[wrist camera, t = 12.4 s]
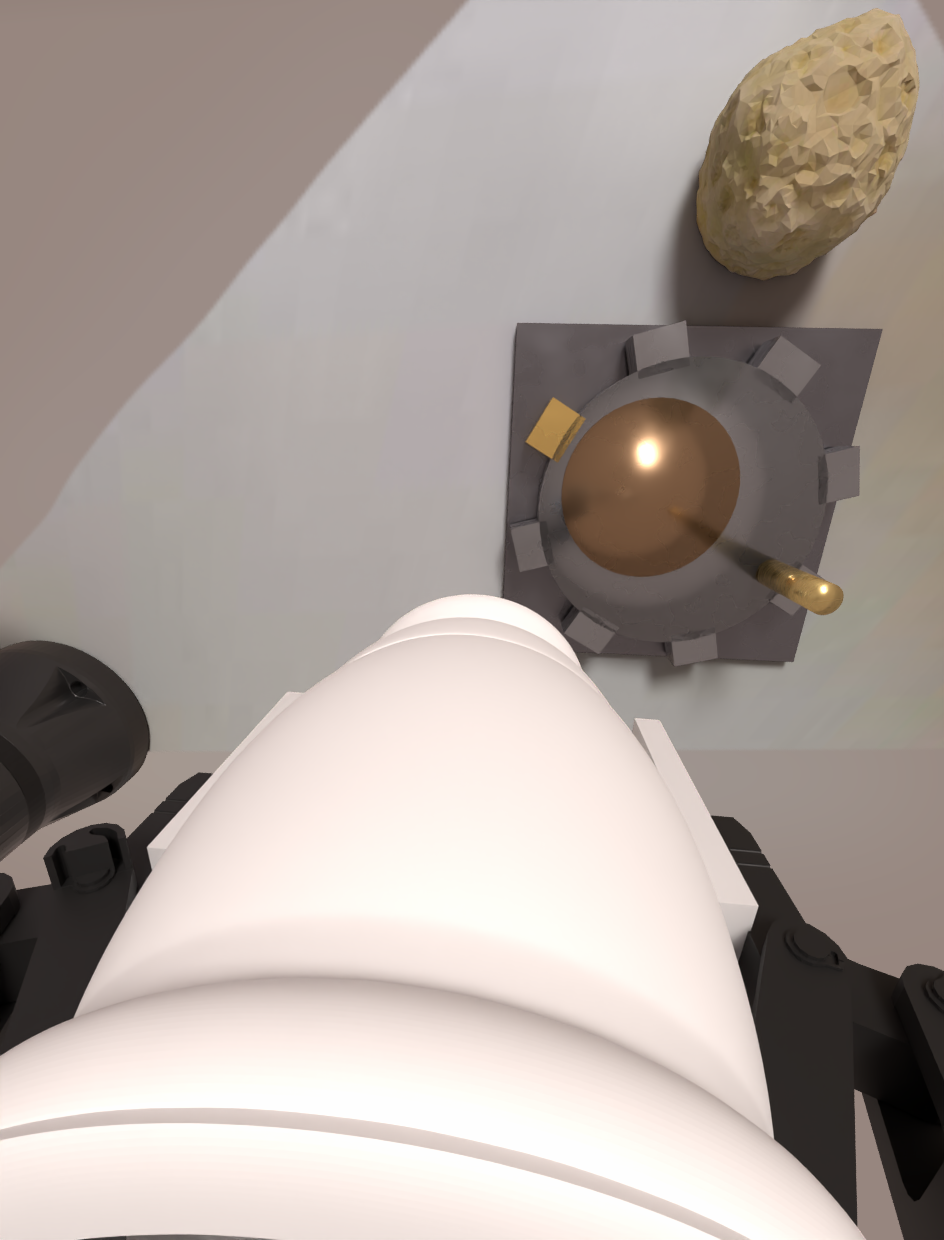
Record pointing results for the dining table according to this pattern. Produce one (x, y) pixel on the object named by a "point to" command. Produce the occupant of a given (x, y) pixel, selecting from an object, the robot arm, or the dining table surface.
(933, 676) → the dining table surface
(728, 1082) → the jar
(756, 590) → the sprocket
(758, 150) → the decorative object
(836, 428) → the base plate
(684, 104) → the dining table surface
